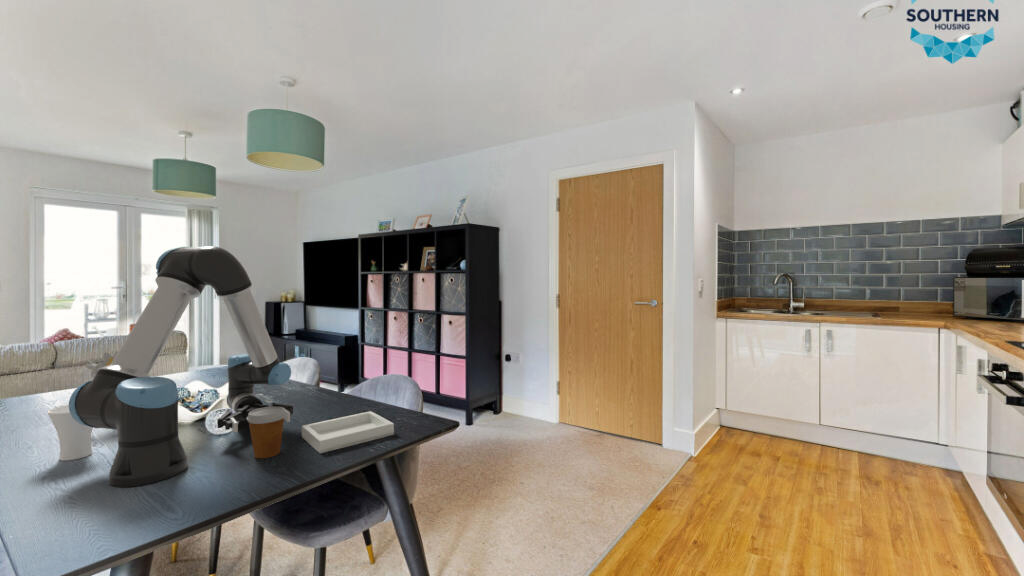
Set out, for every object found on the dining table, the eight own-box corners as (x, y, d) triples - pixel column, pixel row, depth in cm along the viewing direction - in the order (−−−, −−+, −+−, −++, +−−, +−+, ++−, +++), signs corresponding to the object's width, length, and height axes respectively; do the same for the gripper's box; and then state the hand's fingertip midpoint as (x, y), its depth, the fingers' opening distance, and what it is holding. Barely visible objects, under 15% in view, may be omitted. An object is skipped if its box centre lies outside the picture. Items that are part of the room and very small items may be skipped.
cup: (51, 455, 123) (50, 407, 123) (103, 446, 130) (101, 400, 129) (45, 467, 115) (44, 415, 115) (100, 456, 122) (99, 407, 121)
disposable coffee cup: (275, 461, 118) (274, 416, 118) (239, 461, 118) (238, 416, 118) (293, 447, 127) (292, 405, 127) (260, 447, 128) (259, 406, 127)
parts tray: (320, 453, 123) (319, 440, 123) (301, 437, 136) (301, 425, 136) (393, 434, 137) (393, 423, 137) (371, 421, 150) (370, 411, 150)
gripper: (289, 410, 153) (308, 425, 137) (201, 426, 136) (212, 446, 120) (288, 388, 153) (308, 401, 137) (200, 402, 136) (211, 418, 120)
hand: (263, 422), depth 128 cm, fingers open, 13 cm apart
